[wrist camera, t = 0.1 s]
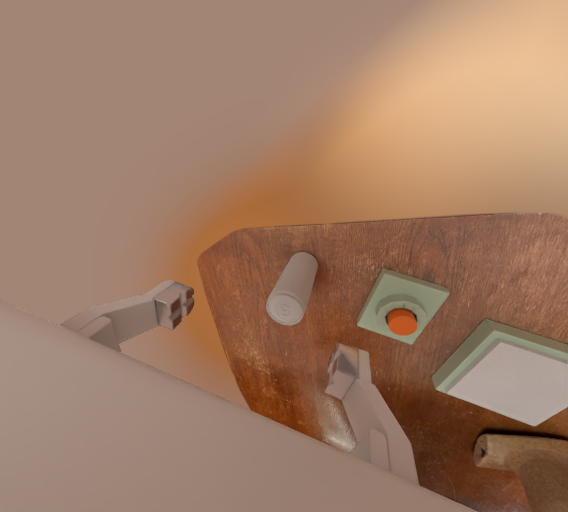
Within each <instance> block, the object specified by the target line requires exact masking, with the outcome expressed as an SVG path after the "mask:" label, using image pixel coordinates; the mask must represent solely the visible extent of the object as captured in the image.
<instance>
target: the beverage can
mask: <svg viewBox="0 0 568 512" xmlns="http://www.w3.org/2000/svg"><path fill="white" fill-rule="evenodd" d="M317 269H318V263H317V260H316V259H315V258H314V257H313V256H312V255H311V254H309V253H306V252H299V253H296V254H294V255H293V256H292V257H291V258H290V260H289V262H288V264H287V266H286V267H285V269H284V271H283V273H282V274H281V276H280V278H279V280H278V282H277V283H276V285H275V287H274V289H273V290H272V292H271V294H270V296H269V298H268V302H267V307H266V308H267V312H268V314H269V315H270V316H271V318H272V319H274V320H275V321H276V322H278V323H280V324H283V325H294V324H297V323H298V322H300V321H301V319H302V317H303V316H304V314H305V311H306V308H307V304H308V301H309V298H310V294H311V291H312V287H313V283H314V279H315V276H316V272H317Z"/></svg>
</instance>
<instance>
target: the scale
mask: <svg viewBox="0 0 568 512" xmlns="http://www.w3.org/2000/svg"><path fill="white" fill-rule="evenodd" d="M431 378H432V381H433V384H434V387H435V389H436V390H438V391H441V392H444V393H446V394H449V395H452V396H454V397H457V398H460V399H462V400H465V401H468V402H470V403H473V404H476V405H478V406H481V407H484V408H486V409H489V410H492V411H494V412H497V413H500V414H502V415H505V416H508V417H510V418H513V419H516V420H518V421H521V422H524V423H526V424H529V425H532V426H536V425H538V424H540V423H541V422H543V421H545V420H546V419H548V418H550V417H551V416H553V415H555V414H557V413H558V412H560V411H562V410H563V409H565V408H567V407H568V344H565V343H562V342H558V341H555V340H552V339H549V338H546V337H543V336H539V335H536V334H533V333H530V332H527V331H524V330H520V329H517V328H514V327H511V326H508V325H505V324H502V323H498V322H495V321H492V320H489V319H486V318H485V319H484V320H483V321H482V322H481V324H480V325H479V326H478V327H477V328H476V329H475V330H474V331H473V332H472V333H471V334H470V335H469V337H468V338H467V339H466V340H465V341H464V342H463V343H462V344H461V345H460V346H459V347H458V348H457V349H456V351H455V352H454V353H453V354H452V355H451V356H450V357H449V358H448V359H447V360H446V361H445V362H444V364H443V365H442V366H441V367H440V368H439V369H438V370H437V371H436V372H435V373H434V374H433V375H432V377H431Z"/></svg>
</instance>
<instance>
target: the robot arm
mask: <svg viewBox="0 0 568 512" xmlns="http://www.w3.org/2000/svg"><path fill="white" fill-rule="evenodd" d="M193 294H194V289H192V288H190V287H188V286H185V285H183V284H180V283H178V282H175V281H172V280H170V279H168V280H165V281H164V282H162V283H161V284H159V285H158V286H157V287H155V288H154V289H152V290H151V291H150V292H148V293H147V294H145V295H138V296H134V297H130V298H126V299H122V300H118V301H114V302H110V303H106V304H102V305H98V306H94V307H90V308H87V309H85V310H83V311H82V312H80V313H78V314H77V315H75V316H74V317H72V318H70V319H69V320H67V321H65V322H64V323H62V324H60V325H57V324H55V323H53V322H51V321H48V320H46V319H44V318H42V317H39V316H37V315H35V314H33V313H30V312H28V311H26V310H24V309H22V308H19V307H17V306H15V305H13V304H10V303H8V302H6V301H4V300H2V299H0V512H478V511H475V510H473V509H471V508H469V507H466V506H464V505H462V504H460V503H457V502H455V501H453V500H451V499H448V498H446V497H444V496H442V495H439V494H437V493H435V492H433V491H430V490H428V489H426V488H424V487H421V486H419V482H418V477H417V472H416V467H415V461H414V456H413V451H412V446H411V443H410V441H409V440H408V438H407V436H406V435H405V433H404V432H403V430H402V428H401V427H400V425H399V424H398V422H397V420H396V419H395V417H394V415H393V414H392V412H391V411H390V409H389V407H388V406H387V404H386V402H385V401H384V399H383V398H382V396H381V394H380V393H379V391H378V390H377V388H376V386H375V385H373V384H372V383H371V370H370V358H369V353H368V352H366V351H363V350H361V349H357V348H355V347H352V346H350V345H347V344H344V343H341V342H337V343H336V345H335V349H334V351H333V352H332V353H331V356H330V358H329V362H328V368H327V371H328V376H327V378H326V385H325V393H327V394H329V395H332V396H334V397H336V398H339V399H341V400H342V403H343V405H344V408H345V411H346V413H347V416H348V419H349V421H350V424H351V426H352V429H353V432H354V434H355V437H356V440H357V442H358V444H357V445H356V446H355V447H354V448H353V450H352V451H351V452H350V453H349V454H347V453H345V452H343V451H341V450H338V449H336V448H334V447H332V446H329V445H327V444H325V443H323V442H320V441H318V440H316V439H314V438H311V437H309V436H307V435H305V434H302V433H300V432H298V431H296V430H293V429H291V428H289V427H287V426H284V425H282V424H280V423H278V422H275V421H273V420H271V419H269V418H266V417H264V416H262V415H260V414H257V413H255V412H253V411H251V410H248V409H246V408H244V407H242V406H239V405H237V404H235V403H233V402H230V401H228V400H226V399H224V398H221V397H219V396H217V395H215V394H212V393H210V392H208V391H206V390H203V389H201V388H199V387H197V386H194V385H192V384H190V383H188V382H185V381H183V380H181V379H179V378H176V377H174V376H172V375H170V374H167V373H165V372H163V371H161V370H158V369H156V368H154V367H152V366H149V365H147V364H145V363H143V362H140V361H138V360H136V359H133V358H131V357H129V356H127V355H125V354H122V353H121V350H120V346H119V343H122V342H124V341H126V340H128V339H131V338H133V337H135V336H137V335H140V334H142V333H144V332H146V331H148V330H150V329H153V328H155V327H157V326H158V325H159V326H162V327H165V328H168V329H170V330H173V329H174V328H175V327H176V326H177V325H178V324H179V323H180V322H181V319H182V317H185V316H187V315H188V314H189V313H190V312H191V310H192V308H193V306H194V299H193V297H192V295H193Z"/></svg>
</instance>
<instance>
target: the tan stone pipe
mask: <svg viewBox="0 0 568 512" xmlns="http://www.w3.org/2000/svg"><path fill="white" fill-rule="evenodd" d="M474 447H475V449H474V462H475V465H476V466H478V467H488V468H493V469H500V470H505V471H512V472H514V473H516V474H517V475H518V477H519V479H520V480H521V482H522V484H523V487H524V489H525V492H526V495H527V498H528V501H529V504H530V506H531V509H532V511H533V512H568V441H566V440H561V439H555V438H547V437H536V436H522V435H504V434H483V435H481V436H480V437H479V438H478V439H477V442H476V444H475V446H474Z"/></svg>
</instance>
